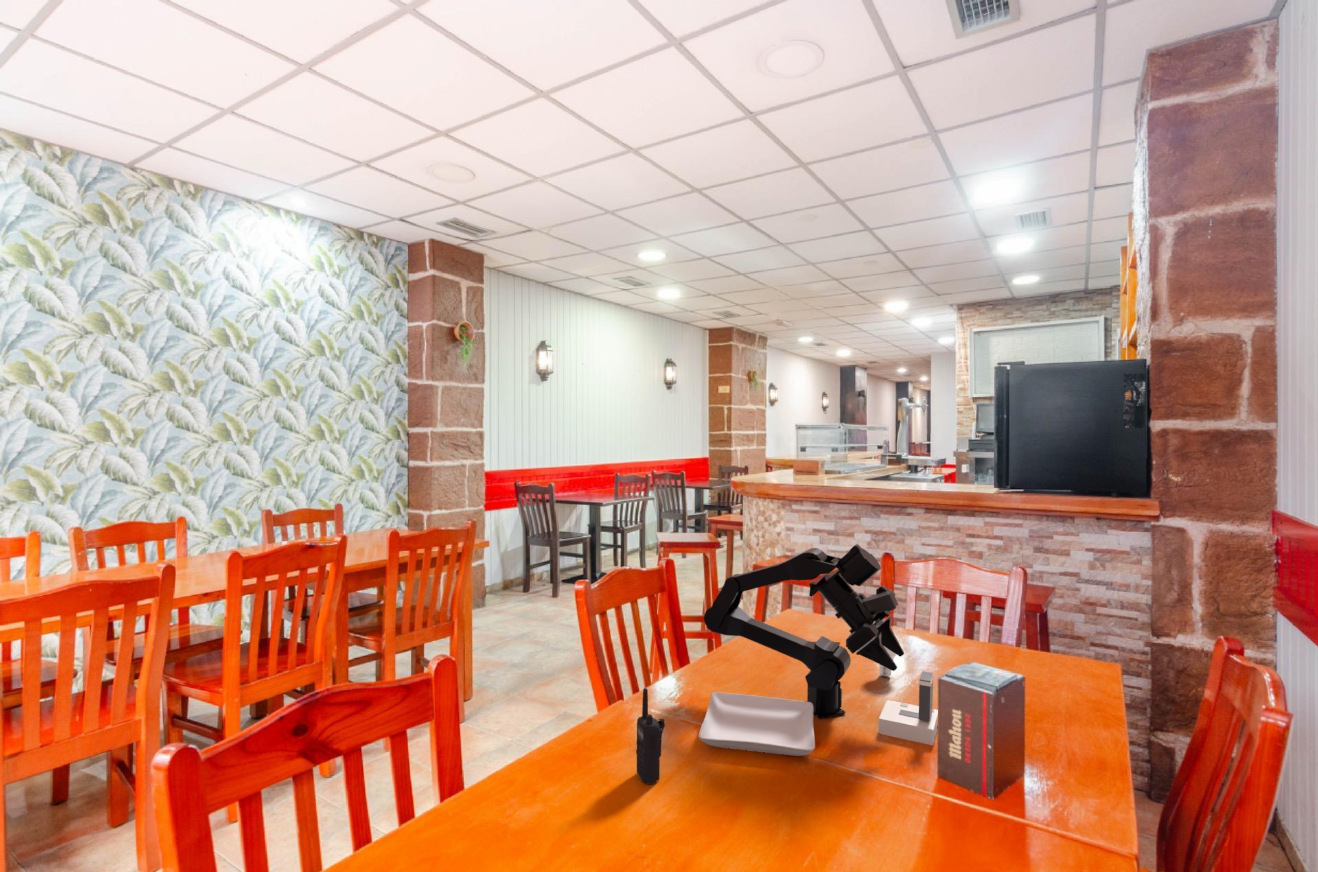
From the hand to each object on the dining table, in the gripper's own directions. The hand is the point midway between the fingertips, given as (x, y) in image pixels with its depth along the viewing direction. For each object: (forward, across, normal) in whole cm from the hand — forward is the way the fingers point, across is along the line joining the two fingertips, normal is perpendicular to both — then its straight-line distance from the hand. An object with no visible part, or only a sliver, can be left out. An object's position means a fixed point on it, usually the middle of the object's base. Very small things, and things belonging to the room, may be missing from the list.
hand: (899, 661), depth 134 cm
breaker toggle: (+11, 0, +3) cm, 11 cm away
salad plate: (-7, -16, +26) cm, 32 cm away
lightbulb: (+5, +27, +14) cm, 31 cm away
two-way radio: (-15, -41, +34) cm, 55 cm away
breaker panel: (+11, 0, +8) cm, 13 cm away
